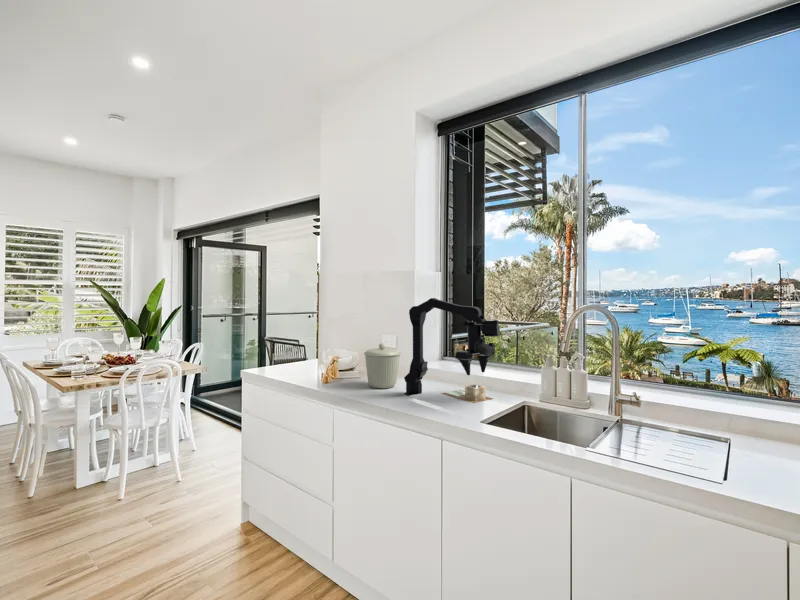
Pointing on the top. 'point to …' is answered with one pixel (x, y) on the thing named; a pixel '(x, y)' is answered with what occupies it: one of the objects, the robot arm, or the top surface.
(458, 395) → the board
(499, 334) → the robot arm
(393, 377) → the canister
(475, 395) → the collar
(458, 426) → the top surface
